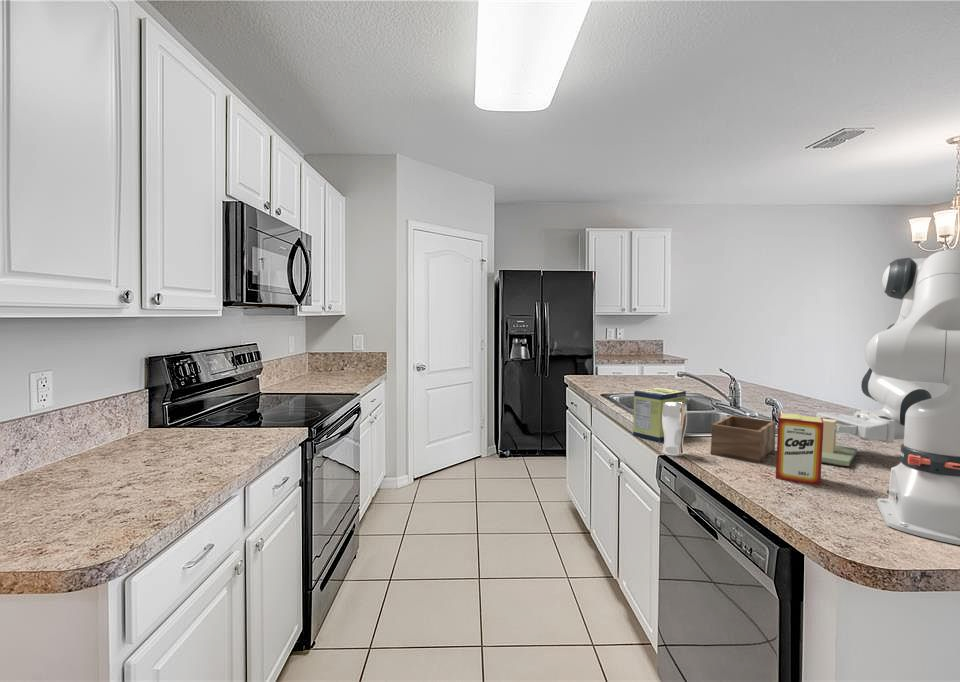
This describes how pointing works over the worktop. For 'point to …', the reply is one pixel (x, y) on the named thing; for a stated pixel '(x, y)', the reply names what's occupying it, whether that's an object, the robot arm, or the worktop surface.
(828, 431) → the lid
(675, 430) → the beer glass
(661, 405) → the protein box
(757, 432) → the open wooden box
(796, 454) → the baking soda box
